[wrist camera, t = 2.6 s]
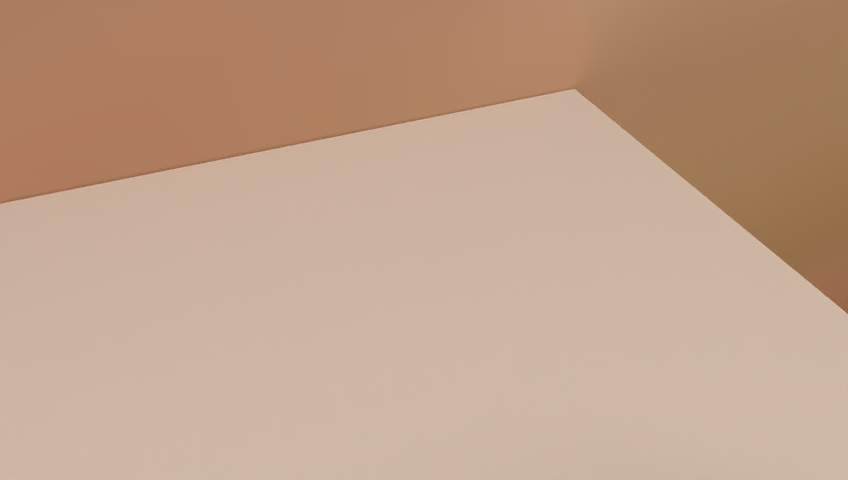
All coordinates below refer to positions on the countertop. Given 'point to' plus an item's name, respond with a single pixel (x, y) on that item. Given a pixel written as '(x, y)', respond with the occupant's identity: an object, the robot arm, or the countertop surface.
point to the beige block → (414, 317)
